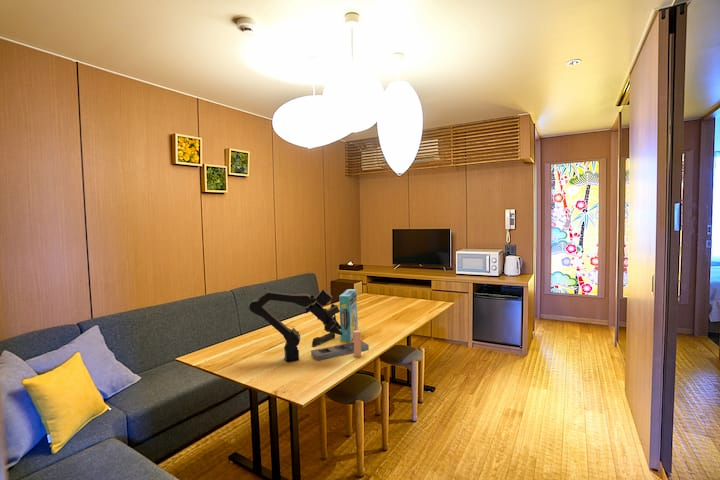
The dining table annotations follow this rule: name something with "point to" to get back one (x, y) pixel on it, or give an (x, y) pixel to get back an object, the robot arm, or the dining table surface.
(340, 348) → the rail
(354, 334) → the peg
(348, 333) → the game box
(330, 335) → the hand tool
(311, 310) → the robot arm
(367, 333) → the dining table surface
